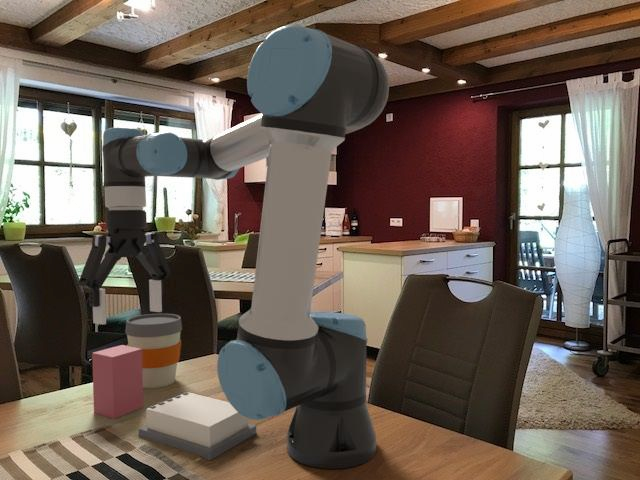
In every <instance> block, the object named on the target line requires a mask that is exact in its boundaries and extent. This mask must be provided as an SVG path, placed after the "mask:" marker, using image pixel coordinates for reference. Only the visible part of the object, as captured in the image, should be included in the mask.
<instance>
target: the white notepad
mask: <svg viewBox="0 0 640 480" xmlns="http://www.w3.org/2000/svg"><path fill="white" fill-rule="evenodd" d="M256 434H257V425H256V424H253V423H249V418H247V417H245V416H243V415H241V414H240V413H239V412H237V411H236V410H235V409H234V408H233V406H232V405H231V404H230V403H229V401H225V400H221V399H216V398H213V397H209V396H205V395H201V394H197V393H192V392H189V391H187V392H186V391H185V392H182V394H180V395H179V394H177V395H175V396H174V397H172V398H167V399H166V400H165V401H160V402H158V403H156V404H155V405H150V406H149V407H148V408H146V424H145V425H144V426H142V427H139V428H138V436H139V437H142V438H145V439H148V440H151V441H154V442H158V443H161V444H164V445H167V446H170V447H173V448H175V449H176V448H177V449H178V450H182V451H185V452H188V453H190V454H194V455H197V456H199V458H202V459H205V460H208V461H212V460H213V459H215V458H217V457H219V456H220V455H222V454H224V453H225V452H227V451H230V449H232V448H234V447H236V446H237V445H239V444H241V443H243V442H245V441H246V440H248V439H249V438H251V437H253V436H255V435H256Z"/></svg>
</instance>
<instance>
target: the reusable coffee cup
mask: <svg viewBox="0 0 640 480" xmlns="http://www.w3.org/2000/svg"><path fill="white" fill-rule="evenodd" d="M181 318H182V317H181V316H180V315H179V314H175V313H152V314H151V313H149V314H140V315H134V316H132V317H129V318H127V319H126V322H125V331H124V333H125V334H126V337H127V342H128V343H127V345H126V346H130V347H135V348H140V349H142V377H143V389H156V388H157V389H158V388H163V387H166V386H170V385H172V384H173V383H174V382H176V376H177V366H178V362H179V361H180V357H181V349H182V347H181V346H182V340H181V332H182V331H183V325H182V319H181Z"/></svg>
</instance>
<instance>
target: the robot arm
mask: <svg viewBox="0 0 640 480" xmlns="http://www.w3.org/2000/svg"><path fill="white" fill-rule="evenodd" d="M246 78H247V79H246V85H247V86H246V88H247V94H248V96H249V97H250V98H251V99H250V102H251V103H252V105H253V107H254V108H255V109H256V110H257V111H258V112H259V113H260V114H259V115H256V116H254V117H252V118H250V119H247V120H245V121H244V122H241V123H238V124H237V125H235V126H233V127H231V128H228V129H226V130H225V131H222V132H220V133H218V134H216V135H214V136H212V137H209V138H207V139H206V138H205V139H201V138H200V139H199V138H191V137H180V136H178V135H177V134H175V133H173V132H168V131H164V132H163V131H162V132H160V131H155V132H152V133H149V134H144V132H143V131H142V130H141V129H139V128H134V127H124V126H123V127H122V126H120V127H109V128H106V129H105V130H104V131H103V134H102V135H103V136H102V139H103V140H102V141H103V143H102V149H101V151H102V160H103V162H102V163H103V179H104V181H103V182H104V206H105V208H107V209H108V210H106V212H105V229H106V230H107V235H103V234H96V235H95V234H94V235H93V236H92V242H91V243H92V244H91V249H90V252H89V253H88V256H87V258H86V261H85V264H84V266H83V269H82V271H81V274H80V277H79V279H78V282H77V285H78V286H79V287H82V288H85V289H86V290H87V289H88V298H89V299H88V302H89V303H88V304H89V306H90V307H91V308H92V321H93V322H92V323H93V324H96V325H107V312H106V311H107V307H106V304H107V303H106V289H105V288H102V287H103V285H104V283H105V282H106V280H107V278H108V277H109V276H110V274H111V272H112V270H113V269H114V268H115V265H116V264H117V262H118V261H120V260H121V259H122V258H129V257H135V258H136V259H137V260H138V261H139V262H140V263H141V265H142V266H143V267H144V269H145V270H146V271H147V273H148V274H149V275H150V277H151V278H152V279H149V280H148V285H149V286H148V287H149V288H148V289H149V293H148V294H149V312H156V313H162V312H163V303H162V301H163V299H162V296H163V295H164V281H167V279H168V276H171V274H172V271H171V269H170V266H169V264H168V262H167V260H166V257H165V254H164V253H163V250H162V248H161V245H160V243H159V242H160V241H159V236H158V235H159V234H158V233H157V232H145V229H146V228H147V222H148V221H147V212H146V210H144V208H145V207H146V206H147V198H146V197H147V196H146V177H169V178H170V177H171V178H193V179H194V178H195V179H211V180H216V181H217V180H218V181H219V180H227V179H232V178H234V177H235V176H236V175H237V173H238V172H239V171H240V169H241V168H243V167H245V166H249V165H251V164H253V163H257V162H259V161H263V160H265V159H267V158H268V159H267V166H266V176H265V185H264V192H263V193H264V194H263V202H262V209H261V210H262V211H261V219H260V227H259V228H260V229H259V235H258V236H259V238H258V244H257V245H258V248H257V254H256V255H257V256H256V261H255V262H256V264H255V271H254V281H253V290H252V299H251V307H250V309H249V310H247V311H246V312H245V313H243V314H242V315H241V316H240V318H239V319H238V329H237V337H236V339H235V340H234V339H233V340H230V341H228V342H227V343H226V344H225V345H224V346H223V347H222V348H221V349H220V351H219V353H218V357H217V362H216V363H217V365H216V369H217V377H218V382H219V384H220V385H219V386H220V389H221V390H222V393H224V395H225V397H226V400H227V402H229V403H230V404H231V405H232V406H233V408H234V409H235V410H236V411H237V412H239V413H240V414H241V415H243V416H245V417H247V418H248V420H249V419H250V420H254V421H261V420H265V419H268V418H270V417H278V416H280V415H281V414H283V413H284V412H286V411H288V410H291V409H293V408H294V412H293V414H292V415H293V416H292V419H291V421H290V424H289V427H288V431H287V434H286V451H287V454H288V455H289V456H290V458H292V459H293V460H295V461H297V462H299V463H300V464H303V465H306V466H309V467H313V468H319V469H329V470H331V469H332V470H333V469H347V468H351V467H356V466H359V465H362V464H364V463H367V462H368V461H369V460H371V459H372V458H373V457H374V456H375V455H376V452H377V435H376V434H377V433H376V431H375V428H374V425H373V422H372V418H371V415H370V411H369V408H368V406H367V345H368V344H367V343H368V338H367V326H366V323H365V321H364V319H363V318H361V317H359V316H357V315H354V314H349V313H344V312H343V313H342V312H335V311H334V312H333V311H322V310H321V311H320V310H311V308H312V302H313V294H314V286H315V279H316V272H317V264H318V263H317V262H318V258H319V249H320V242H321V234H322V226H323V219H324V212H325V207H326V206H325V205H326V197H327V190H328V183H329V176H330V175H329V174H330V169H331V168H330V167H331V160H332V152H333V151H334V149H335V148H337V147H338V146H339V145H340V144H342V143H343V142H345V139H346V134H347V135H348V134H350V133H353V132H356V131H358V130H360V129H363V128H364V127H366V126H368V125H370V124H371V123H373V122H375V120H376V119H377V118H378V117H379V116H380V115H381V113H382V112H383V111H384V108H385V106H386V105H387V102H388V99H389V93H390V92H389V90H390V83H389V77H388V73H387V71H386V69H385V66H384V64H383V63H382V61H381V60H380V58H378V57H377V56H376V55H375V54H374V53H373V52H371V51H370V50H369V49H367V48H364V47H361V46H358V45H355V44H353V43H350V42H347V41H345V40H342V39H340V38H339V37H338V38H337V37H335V36H333V35H330V34H328V33H326V32H324V31H323V30H320V29H317V28H309V27H305V26H303V25H299V24H298V25H297V24H289V25H284V26H281V27H279V28H277V29H275V30H273V31H272V32H271V33H269V34H268V35H267V36H266V38H265V39H264V41H263V42H260V43H259V45H258V47H257V48H256V50H255V51H254V54H253V56H252V58H251V61H250V63H249V67H248V70H247V77H246ZM108 246H109V247H108ZM107 247H108V248H107ZM106 249H107V250H106Z"/></svg>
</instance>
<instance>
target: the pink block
mask: <svg viewBox="0 0 640 480" xmlns="http://www.w3.org/2000/svg"><path fill="white" fill-rule="evenodd" d="M91 354H92V356H91V359H92V386H93V387H92V389H93V391H92V392H93V413H94V414H96V415H100V416H103V417H106V418H110V419H113V420H115V419H118V418H119V417H122V416H125V415H127V414H130V413H132V412H134V411H137V410H140V409H142V408H144V393H143V392H144V391H143V390H144V388H143V377H142V349H140V348H135V347H130V346H127V345H125V344H121V345H116V346H112V347H109V348H104V349H101V350H98V351H94V352H92V353H91Z"/></svg>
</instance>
